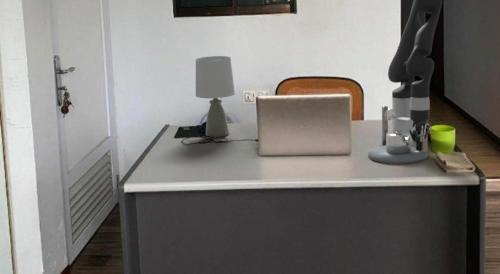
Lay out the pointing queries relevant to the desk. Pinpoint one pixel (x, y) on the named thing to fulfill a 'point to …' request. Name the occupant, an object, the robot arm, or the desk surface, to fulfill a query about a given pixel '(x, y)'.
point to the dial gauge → (386, 122)
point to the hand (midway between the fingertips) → (419, 150)
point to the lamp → (215, 90)
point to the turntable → (382, 156)
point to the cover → (398, 143)
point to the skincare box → (405, 125)
